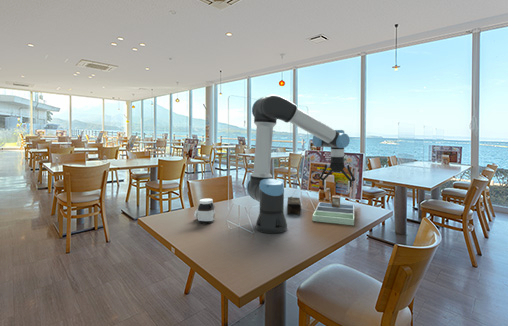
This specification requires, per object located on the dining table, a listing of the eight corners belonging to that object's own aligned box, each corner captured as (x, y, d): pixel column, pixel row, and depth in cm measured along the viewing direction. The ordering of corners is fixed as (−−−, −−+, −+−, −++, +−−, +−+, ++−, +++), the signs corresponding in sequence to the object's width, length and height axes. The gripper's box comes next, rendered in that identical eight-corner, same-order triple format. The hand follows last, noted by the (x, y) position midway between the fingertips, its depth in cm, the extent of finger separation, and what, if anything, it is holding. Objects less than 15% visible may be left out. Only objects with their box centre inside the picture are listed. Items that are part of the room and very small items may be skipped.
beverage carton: (300, 206, 172) (300, 196, 171) (301, 215, 153) (301, 204, 152) (287, 206, 173) (287, 195, 172) (286, 214, 154) (287, 203, 153)
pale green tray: (312, 220, 142) (312, 215, 142) (314, 216, 151) (314, 210, 150) (354, 225, 135) (354, 219, 135) (354, 219, 144) (354, 214, 143)
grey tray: (317, 210, 161) (317, 205, 160) (319, 207, 169) (319, 202, 169) (354, 214, 154) (354, 209, 153) (354, 210, 162) (354, 205, 162)
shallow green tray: (315, 215, 151) (315, 210, 151) (317, 211, 160) (317, 206, 160) (354, 219, 144) (354, 214, 144) (354, 214, 153) (354, 209, 153)
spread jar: (210, 225, 136) (209, 202, 135) (189, 223, 138) (188, 201, 137) (217, 218, 148) (217, 197, 147) (198, 216, 150) (198, 196, 149)
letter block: (331, 211, 160) (331, 197, 159) (332, 209, 164) (332, 195, 163) (339, 211, 158) (339, 197, 158) (339, 209, 163) (340, 196, 162)
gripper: (360, 156, 157) (359, 191, 160) (316, 155, 166) (316, 189, 168) (360, 157, 150) (359, 194, 153) (314, 156, 159) (314, 191, 161)
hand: (336, 191), depth 160 cm, fingers open, 13 cm apart
